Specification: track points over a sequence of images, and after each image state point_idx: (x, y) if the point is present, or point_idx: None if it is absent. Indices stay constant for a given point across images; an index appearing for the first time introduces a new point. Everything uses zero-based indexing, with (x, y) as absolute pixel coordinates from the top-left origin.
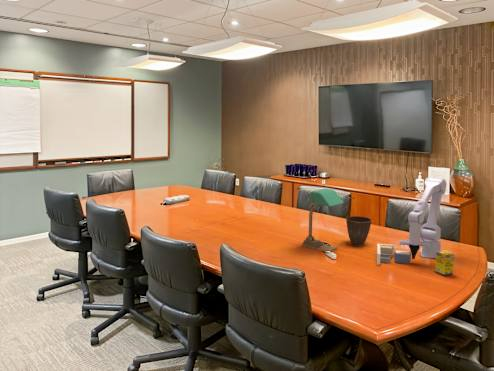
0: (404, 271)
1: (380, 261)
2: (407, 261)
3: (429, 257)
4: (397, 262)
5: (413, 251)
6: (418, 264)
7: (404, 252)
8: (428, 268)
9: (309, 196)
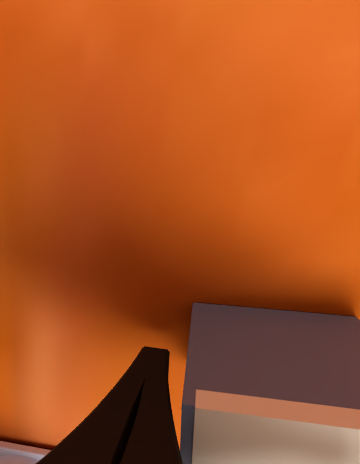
0: (326, 3)
1: None
2: (224, 319)
3: (24, 447)
4: (326, 315)
5: (131, 455)
6: (118, 298)
7: (286, 455)
8: (33, 200)
9: None
